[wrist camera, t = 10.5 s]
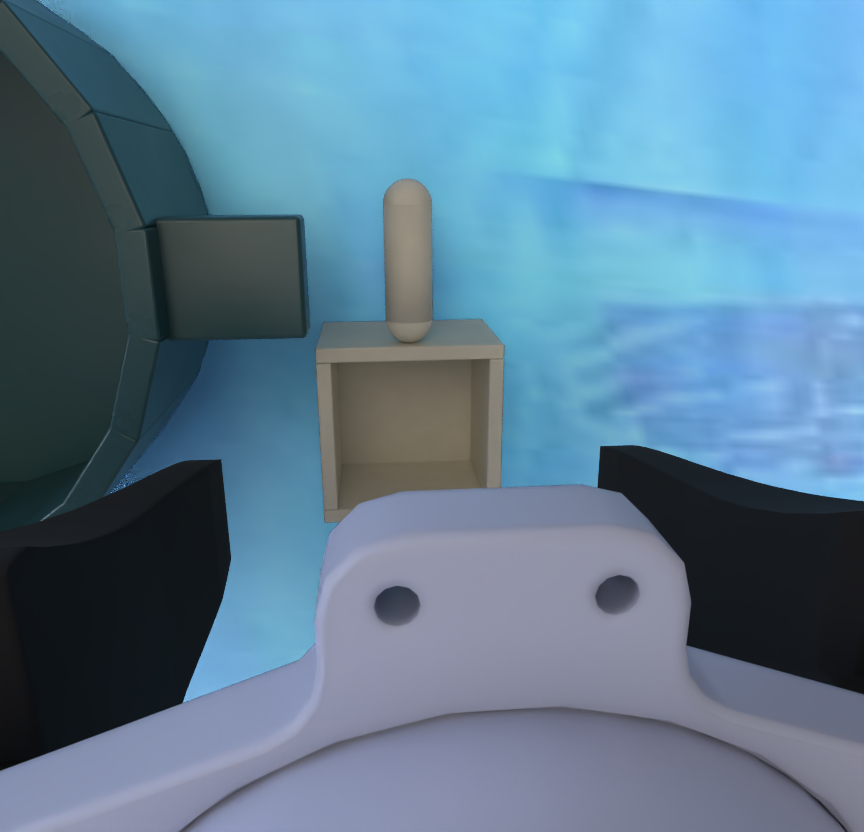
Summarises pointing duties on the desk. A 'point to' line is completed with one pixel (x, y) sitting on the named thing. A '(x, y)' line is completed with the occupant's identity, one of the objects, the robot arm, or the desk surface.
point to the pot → (109, 269)
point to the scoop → (407, 382)
